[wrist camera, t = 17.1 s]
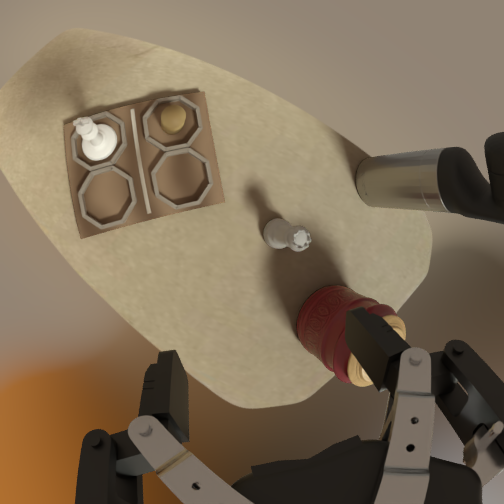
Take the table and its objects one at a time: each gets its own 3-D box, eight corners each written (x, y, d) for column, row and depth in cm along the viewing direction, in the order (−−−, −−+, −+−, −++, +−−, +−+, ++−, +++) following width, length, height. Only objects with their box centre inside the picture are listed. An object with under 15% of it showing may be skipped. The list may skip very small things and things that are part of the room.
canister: (281, 315, 43) (346, 370, 26) (340, 268, 45) (419, 297, 29) (312, 362, 47) (370, 416, 31) (362, 319, 49) (429, 356, 33)
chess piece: (116, 159, 30) (99, 140, 21) (81, 162, 28) (54, 147, 19) (118, 123, 29) (105, 94, 20) (84, 127, 28) (61, 101, 18)
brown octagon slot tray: (202, 95, 33) (208, 81, 29) (222, 202, 37) (231, 201, 32) (67, 127, 28) (55, 117, 23) (83, 237, 31) (72, 242, 27)
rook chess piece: (256, 227, 39) (280, 233, 32) (281, 212, 40) (309, 214, 33) (270, 253, 41) (295, 264, 33) (294, 238, 41) (323, 245, 34)
